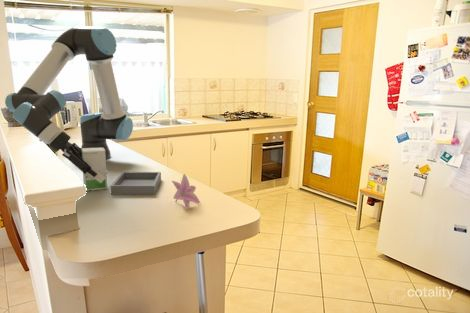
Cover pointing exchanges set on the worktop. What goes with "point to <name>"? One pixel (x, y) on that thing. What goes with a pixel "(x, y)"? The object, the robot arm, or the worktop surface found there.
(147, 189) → the tray
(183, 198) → the lily
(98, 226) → the worktop surface
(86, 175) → the skincare box
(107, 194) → the worktop surface
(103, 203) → the worktop surface
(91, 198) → the worktop surface
